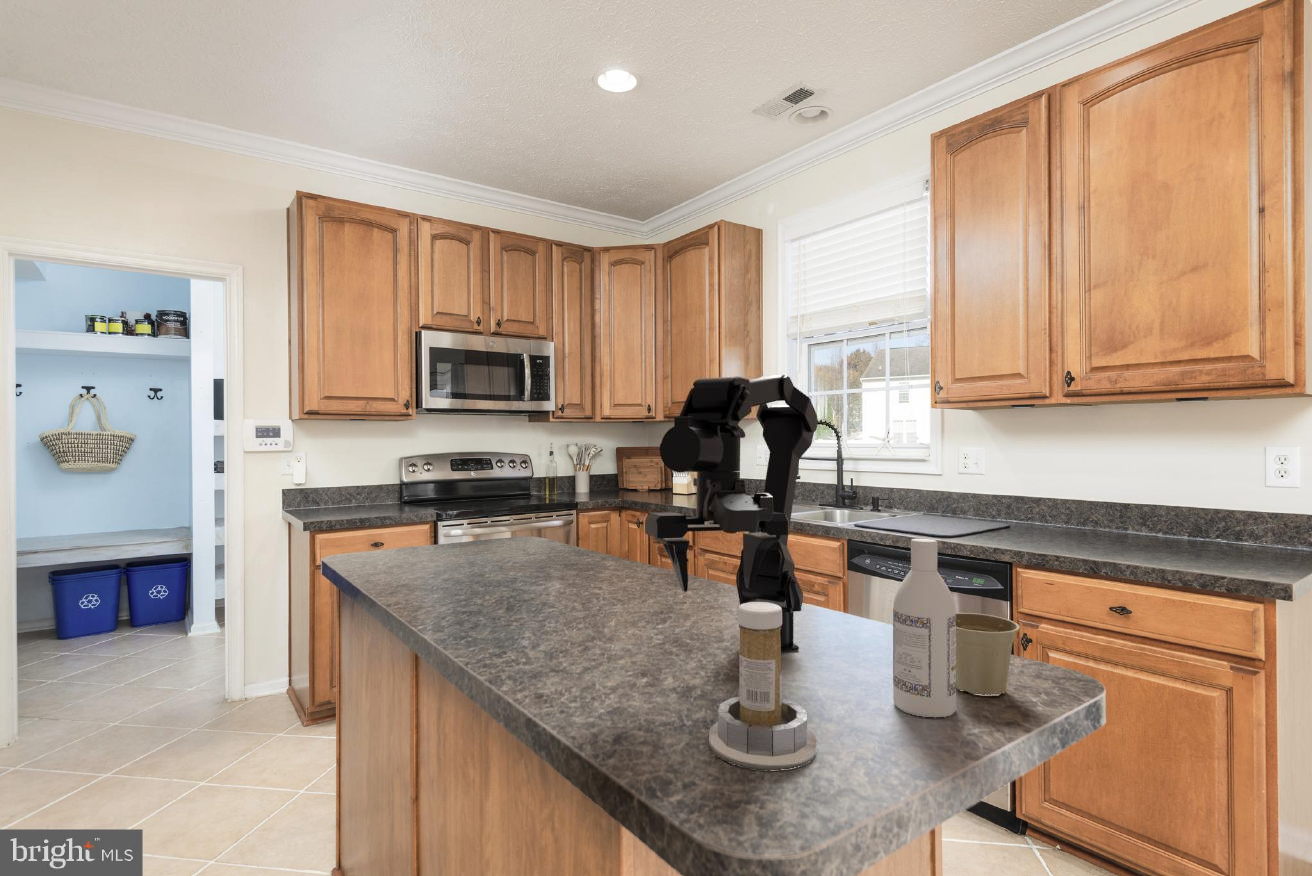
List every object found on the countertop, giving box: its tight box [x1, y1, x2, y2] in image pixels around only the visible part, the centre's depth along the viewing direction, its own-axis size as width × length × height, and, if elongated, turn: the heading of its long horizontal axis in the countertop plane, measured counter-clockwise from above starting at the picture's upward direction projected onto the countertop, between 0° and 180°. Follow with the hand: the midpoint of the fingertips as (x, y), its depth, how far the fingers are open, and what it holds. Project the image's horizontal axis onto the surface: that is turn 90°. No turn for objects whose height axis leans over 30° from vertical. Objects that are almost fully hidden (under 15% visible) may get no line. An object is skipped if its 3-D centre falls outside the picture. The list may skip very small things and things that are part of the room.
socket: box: [708, 696, 818, 772], centre depth 69 cm, size 11×11×4 cm
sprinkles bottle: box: [737, 602, 783, 726], centre depth 69 cm, size 5×5×14 cm
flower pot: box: [956, 612, 1021, 695], centre depth 85 cm, size 9×9×9 cm
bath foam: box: [892, 538, 957, 719], centre depth 79 cm, size 7×7×20 cm
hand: (716, 589), depth 88 cm, fingers open, 9 cm apart
